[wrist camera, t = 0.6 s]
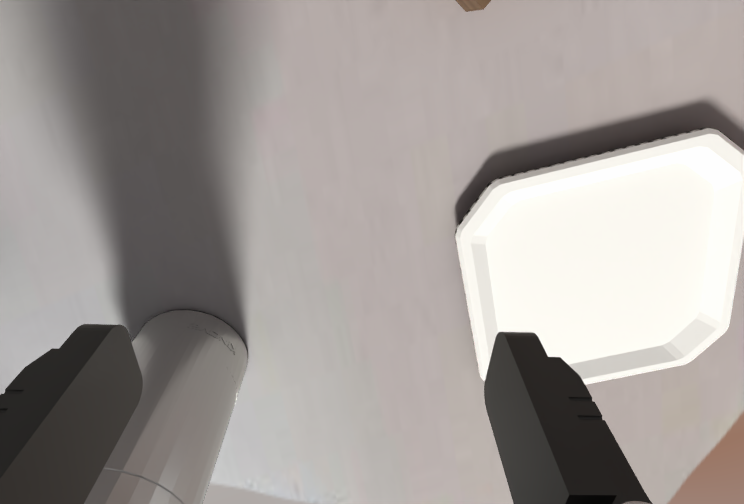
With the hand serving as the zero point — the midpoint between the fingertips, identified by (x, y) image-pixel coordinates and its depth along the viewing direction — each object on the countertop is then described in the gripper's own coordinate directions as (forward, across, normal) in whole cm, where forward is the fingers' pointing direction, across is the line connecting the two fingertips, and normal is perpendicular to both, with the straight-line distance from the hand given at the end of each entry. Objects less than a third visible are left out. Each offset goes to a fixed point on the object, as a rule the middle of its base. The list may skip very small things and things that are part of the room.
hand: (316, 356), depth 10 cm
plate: (+22, +20, -12) cm, 32 cm away
